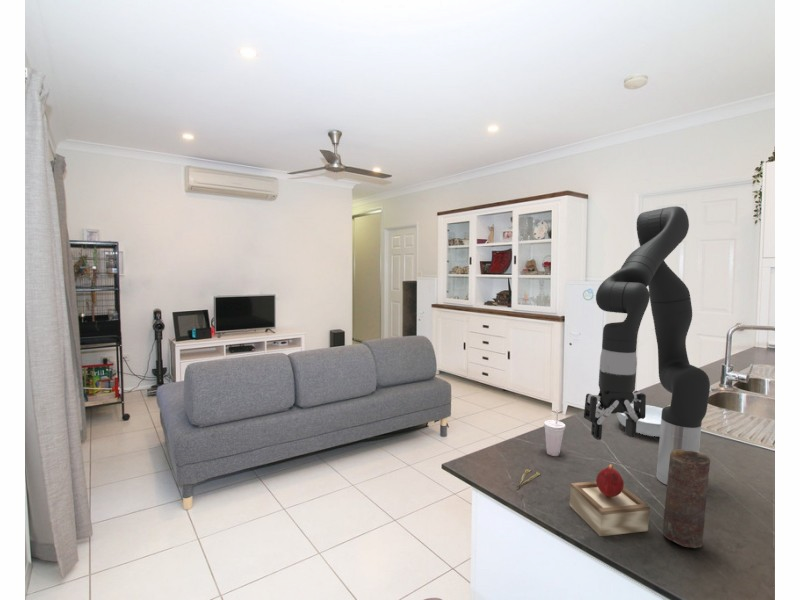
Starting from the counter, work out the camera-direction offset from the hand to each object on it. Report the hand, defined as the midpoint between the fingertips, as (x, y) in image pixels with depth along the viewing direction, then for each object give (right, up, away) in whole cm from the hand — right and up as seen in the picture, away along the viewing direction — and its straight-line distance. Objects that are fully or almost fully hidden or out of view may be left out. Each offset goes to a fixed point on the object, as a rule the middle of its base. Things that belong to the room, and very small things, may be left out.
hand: (613, 437), depth 100 cm
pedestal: (0, -20, +2) cm, 20 cm away
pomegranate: (0, -15, +2) cm, 15 cm away
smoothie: (-1, -17, +35) cm, 39 cm away
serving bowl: (+39, -15, +54) cm, 68 cm away
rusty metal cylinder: (+12, -21, -6) cm, 25 cm away
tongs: (-15, -19, +19) cm, 30 cm away
